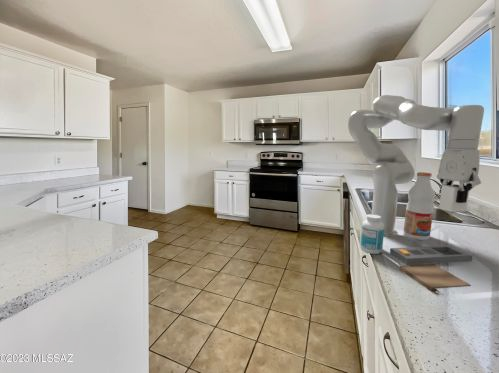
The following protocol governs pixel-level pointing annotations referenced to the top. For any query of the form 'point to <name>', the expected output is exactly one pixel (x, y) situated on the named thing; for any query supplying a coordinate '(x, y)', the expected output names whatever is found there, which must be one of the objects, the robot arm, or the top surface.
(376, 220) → the pill bottle
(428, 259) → the power strip
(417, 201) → the fruit juice
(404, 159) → the robot arm
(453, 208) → the block
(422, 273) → the walnut mat
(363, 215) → the top surface
